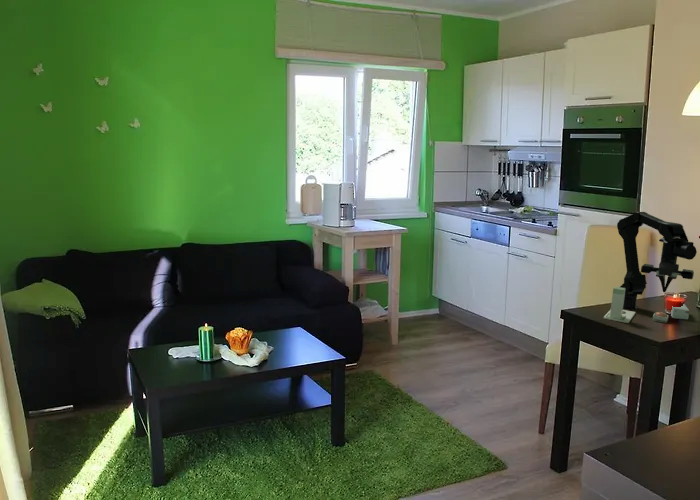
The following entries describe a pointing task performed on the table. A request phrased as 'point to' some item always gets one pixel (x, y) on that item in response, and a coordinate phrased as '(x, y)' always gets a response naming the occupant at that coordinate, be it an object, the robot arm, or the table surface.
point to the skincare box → (680, 312)
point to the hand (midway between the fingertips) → (664, 292)
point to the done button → (661, 314)
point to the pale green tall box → (617, 302)
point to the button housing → (660, 318)
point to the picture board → (625, 317)
